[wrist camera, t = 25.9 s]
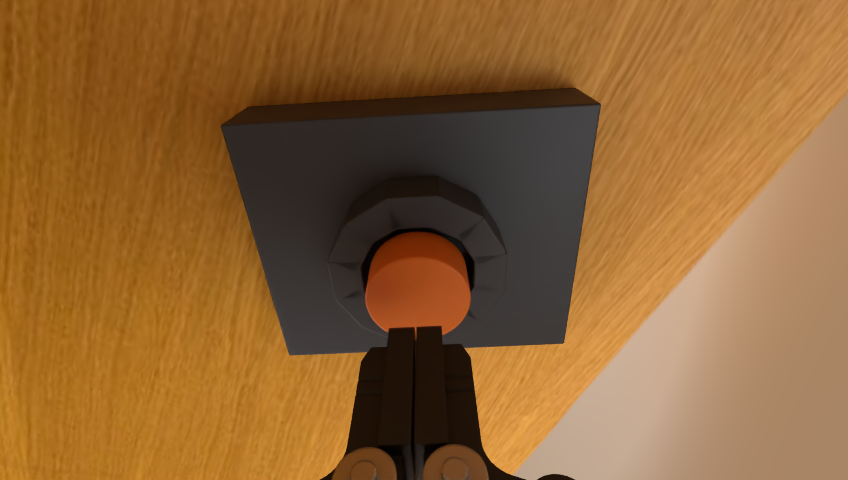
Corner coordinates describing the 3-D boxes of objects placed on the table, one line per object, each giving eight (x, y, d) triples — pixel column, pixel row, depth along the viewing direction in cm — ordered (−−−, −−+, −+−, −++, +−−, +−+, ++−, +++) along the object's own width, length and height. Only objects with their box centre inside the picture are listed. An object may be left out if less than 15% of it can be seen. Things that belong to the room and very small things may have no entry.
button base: (576, 87, 16) (624, 117, 13) (549, 306, 22) (576, 374, 18) (247, 106, 17) (195, 140, 13) (302, 318, 22) (277, 386, 19)
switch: (466, 227, 15) (471, 254, 13) (466, 307, 17) (470, 338, 15) (364, 232, 15) (358, 260, 13) (376, 311, 17) (371, 343, 15)
